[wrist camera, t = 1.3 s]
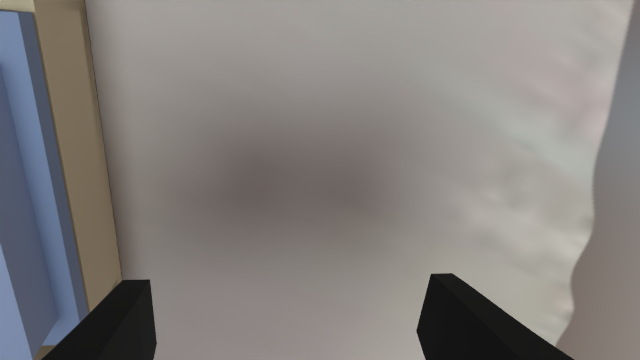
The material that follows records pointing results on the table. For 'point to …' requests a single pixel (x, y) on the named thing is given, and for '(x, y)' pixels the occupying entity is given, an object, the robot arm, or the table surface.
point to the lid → (32, 205)
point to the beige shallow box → (77, 140)
